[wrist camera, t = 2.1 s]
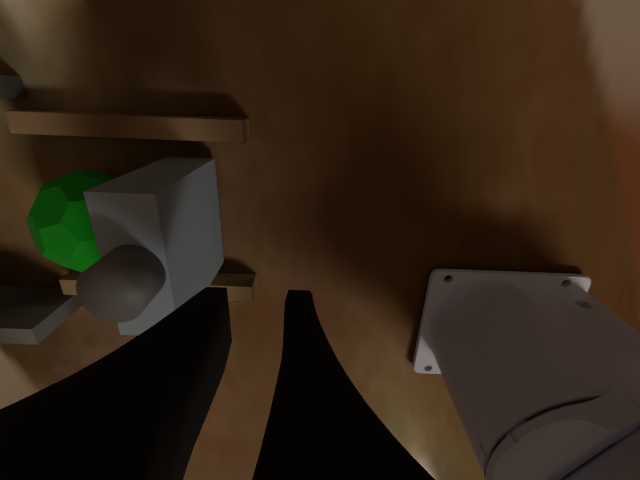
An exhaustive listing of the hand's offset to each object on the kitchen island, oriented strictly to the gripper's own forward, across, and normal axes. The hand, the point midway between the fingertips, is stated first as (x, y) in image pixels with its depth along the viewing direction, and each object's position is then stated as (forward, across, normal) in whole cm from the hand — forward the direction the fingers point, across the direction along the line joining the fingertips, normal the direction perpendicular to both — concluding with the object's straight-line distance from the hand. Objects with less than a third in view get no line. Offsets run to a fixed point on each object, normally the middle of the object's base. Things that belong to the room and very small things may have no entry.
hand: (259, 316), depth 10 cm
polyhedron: (+10, +10, 0) cm, 14 cm away
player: (+9, +5, 0) cm, 11 cm away
